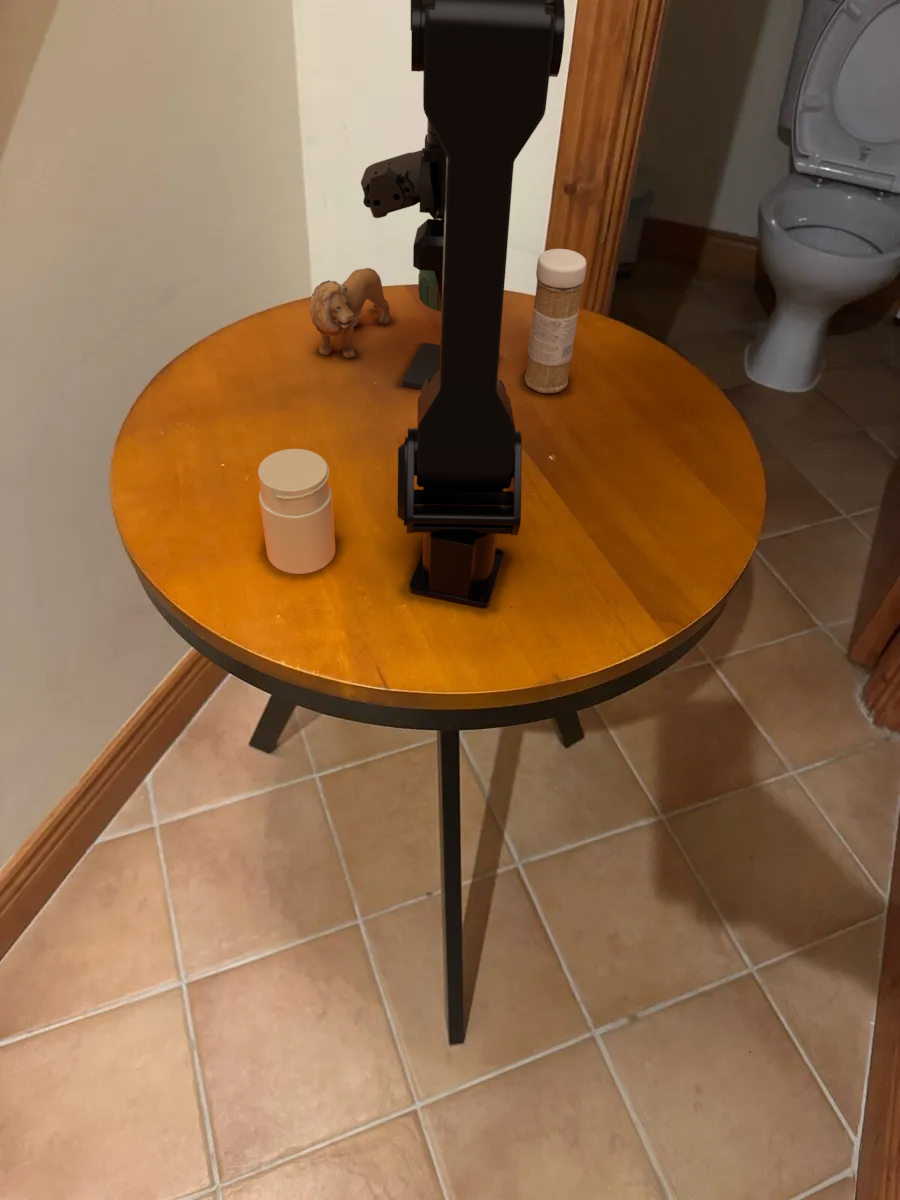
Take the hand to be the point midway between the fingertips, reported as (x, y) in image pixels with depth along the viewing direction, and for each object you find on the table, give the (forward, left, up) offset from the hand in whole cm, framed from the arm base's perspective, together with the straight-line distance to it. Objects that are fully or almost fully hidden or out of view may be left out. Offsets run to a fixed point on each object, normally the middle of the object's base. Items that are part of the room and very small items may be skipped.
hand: (452, 300), depth 88 cm
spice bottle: (+1, -10, -8) cm, 13 cm away
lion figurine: (+3, +11, -8) cm, 14 cm away
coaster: (0, 0, -8) cm, 8 cm away
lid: (0, 0, +3) cm, 3 cm away
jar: (-30, +5, -8) cm, 31 cm away
